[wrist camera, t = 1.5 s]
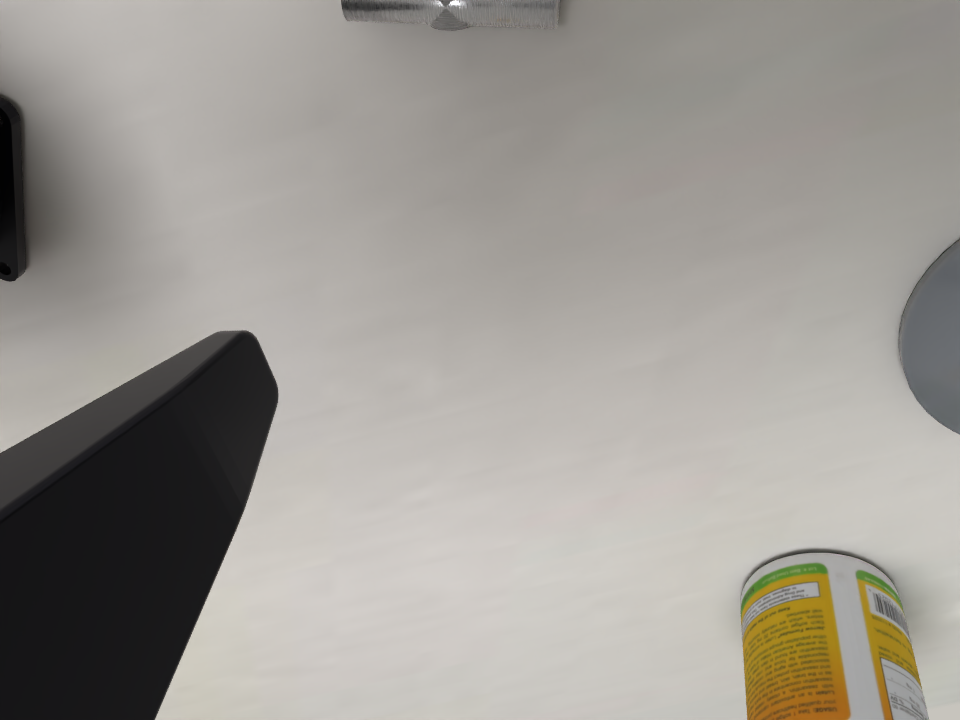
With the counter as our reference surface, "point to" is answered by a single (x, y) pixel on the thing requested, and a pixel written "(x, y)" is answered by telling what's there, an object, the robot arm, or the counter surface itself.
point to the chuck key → (456, 12)
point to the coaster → (935, 339)
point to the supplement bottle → (827, 643)
